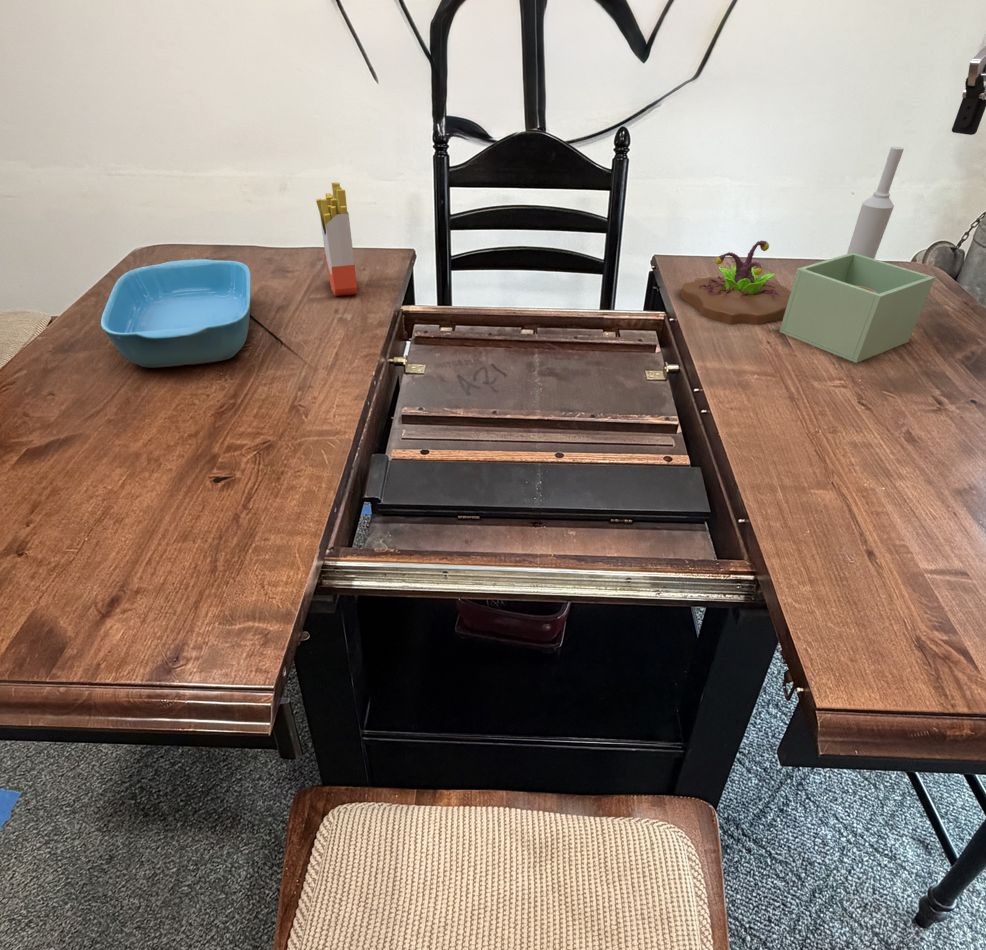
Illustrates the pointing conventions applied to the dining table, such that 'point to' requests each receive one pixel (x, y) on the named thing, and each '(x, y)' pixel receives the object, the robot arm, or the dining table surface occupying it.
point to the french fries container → (338, 241)
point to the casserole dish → (180, 312)
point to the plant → (738, 293)
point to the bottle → (875, 211)
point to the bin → (855, 305)
